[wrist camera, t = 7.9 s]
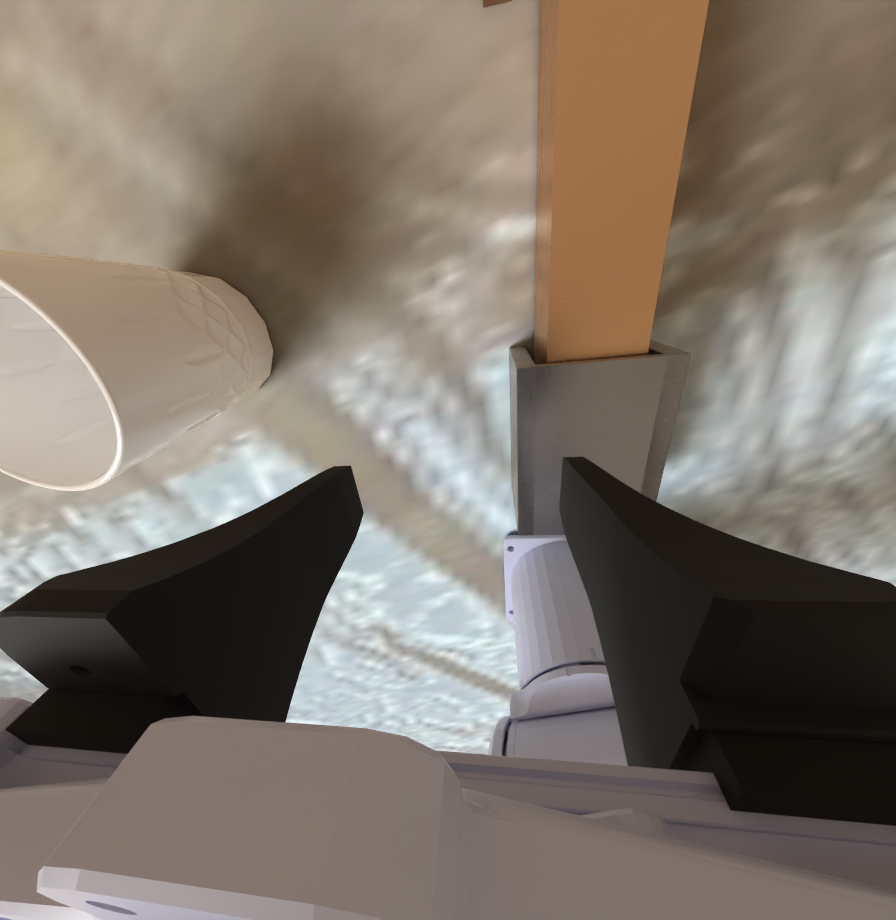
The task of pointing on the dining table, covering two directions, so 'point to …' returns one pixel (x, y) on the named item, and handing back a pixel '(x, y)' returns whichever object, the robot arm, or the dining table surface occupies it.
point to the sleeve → (589, 425)
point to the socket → (493, 2)
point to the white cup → (115, 363)
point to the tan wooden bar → (608, 167)
